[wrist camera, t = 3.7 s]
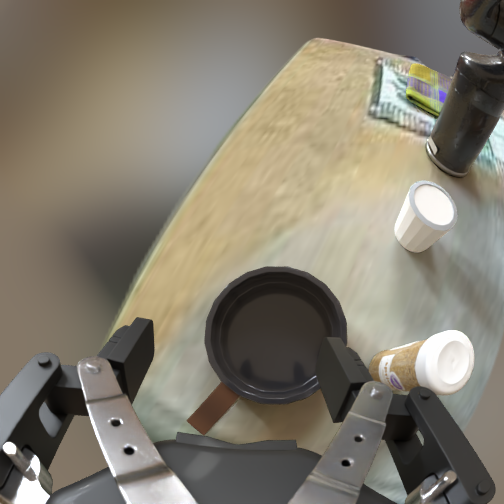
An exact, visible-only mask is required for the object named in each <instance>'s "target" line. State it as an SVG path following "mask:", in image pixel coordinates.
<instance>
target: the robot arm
mask: <svg viewBox="0 0 504 504" xmlns="http://www.w3.org/2000/svg"><path fill="white" fill-rule="evenodd" d="M460 17H461V21H462V23H463V24H464V26H465V27H466V28H467V29H468V30H469V31H471V32H472V33H473V34H475V35H476V36H478V37H479V38H481V39H483V40H484V41H486V42H488V43H489V44H491V45H492V46H494V47H496V48H497V49H499V50H500V51H499V52H498V53H497V54H496V55H480V54H475V53H470V52H463V53H461V55H460V56H459V59H458V63H457V66H456V69H455V72H454V75H453V78H452V81H451V84H450V87H449V90H448V92H447V95H446V98H445V100H444V103H443V106H442V108H441V111H440V113H439V116H438V118H437V121H436V123H435V126H434V128H433V130H432V132H431V135H430V137H429V138H428V140H427V142H426V151H427V153H428V155H429V157H430V158H431V160H432V161H433V162H434V163H435V164H436V165H437V166H438V167H439V168H440V169H441V170H443V171H444V172H446V173H448V174H450V175H452V176H455V177H464V176H466V175H467V173H468V172H469V170H470V168H471V166H472V165H473V163H474V162H475V160H476V159H477V157H478V155H479V154H480V152H481V150H482V149H483V147H484V145H485V144H486V142H487V140H488V139H489V137H490V135H491V133H492V132H493V130H494V128H495V126H496V124H497V122H498V120H499V118H500V117H501V114H502V112H503V110H504V0H461V2H460ZM153 357H154V329H153V321H152V320H150V319H144V318H138V317H137V318H136V319H135V320H134V321H133V323H132V324H131V325H130V326H126V325H125V326H123V327H121V328H120V329H118V330H117V331H116V332H115V333H114V334H113V337H111V338H110V340H109V342H107V343H106V345H105V346H104V347H103V348H102V350H101V351H100V352H99V354H98V355H97V356H93V357H87V358H84V359H83V360H81V361H80V362H79V363H78V365H77V366H69V365H61V364H60V360H59V358H58V357H57V356H56V355H55V354H52V353H48V352H45V353H39V354H37V355H35V356H34V357H33V358H32V359H31V360H30V361H29V362H28V363H27V364H26V365H25V366H24V368H23V369H22V370H21V371H20V372H19V373H18V374H17V376H16V377H15V378H14V379H13V380H12V381H11V382H10V384H9V385H8V386H7V387H6V389H5V390H4V391H3V392H2V393H1V395H0V503H1V504H397V503H395V502H393V501H391V500H390V499H388V498H386V497H384V496H383V495H381V494H379V493H378V492H376V491H374V490H373V489H371V488H369V487H368V486H366V485H364V484H363V482H364V480H365V478H366V476H367V474H368V471H369V469H370V467H371V465H372V462H373V460H374V457H375V455H376V452H377V450H378V447H379V445H380V442H381V439H382V440H385V441H386V443H387V446H388V448H389V450H390V453H391V455H392V458H393V460H394V463H395V465H396V467H397V470H398V472H399V475H400V477H401V480H402V482H403V485H404V488H405V490H406V493H407V495H408V496H407V498H406V500H405V504H487V503H488V502H490V501H491V500H492V498H493V496H494V494H495V484H494V482H493V480H492V478H491V477H490V475H489V473H488V472H487V470H486V468H485V467H484V465H483V463H482V462H481V460H480V459H479V457H478V455H477V454H476V452H475V451H474V449H473V448H472V446H471V445H470V443H469V441H468V440H467V439H466V437H465V436H464V434H463V432H462V431H461V430H460V428H459V427H458V425H457V424H456V422H455V421H454V419H453V418H452V417H451V415H450V414H449V412H448V411H447V409H446V408H445V407H444V405H443V404H442V402H441V401H440V400H439V398H438V397H437V396H436V394H435V393H434V392H433V391H432V390H430V389H429V388H426V387H422V386H416V387H413V388H412V389H411V390H410V392H409V394H408V395H398V394H393V392H392V390H391V388H390V387H389V386H387V385H386V384H384V383H381V382H377V381H374V379H373V378H372V376H371V374H370V373H369V371H368V370H367V368H366V367H365V366H364V363H363V362H362V361H361V359H360V357H359V356H358V354H357V353H356V352H355V351H353V350H352V349H351V348H349V347H346V346H345V344H344V343H343V341H342V339H341V338H336V337H325V338H324V339H323V342H322V345H321V349H320V352H319V356H318V359H317V362H316V369H315V371H316V377H317V379H318V382H319V385H320V388H321V390H322V393H323V396H324V398H325V401H326V404H327V407H328V409H329V412H330V415H331V418H332V420H333V423H337V422H343V423H342V425H341V426H340V428H339V430H338V432H337V433H336V435H335V437H334V438H333V440H332V442H331V443H330V445H329V446H328V448H327V450H326V451H325V453H324V454H323V456H321V455H319V454H317V453H315V452H312V451H309V450H306V449H302V448H297V443H296V440H266V441H260V442H254V443H248V444H240V445H236V444H232V443H228V442H225V441H221V440H218V439H214V438H211V437H208V436H201V435H194V434H187V433H181V432H177V437H176V440H164V441H159V442H156V443H152V441H151V439H150V438H149V436H148V434H147V433H146V431H145V429H144V427H143V425H142V424H141V422H140V420H139V418H138V416H137V414H136V412H135V411H134V409H133V407H132V403H133V401H134V399H135V397H136V395H137V392H138V390H139V388H140V386H141V384H142V382H143V379H144V377H145V375H146V373H147V371H148V369H149V367H150V364H151V362H152V360H153ZM44 401H45V402H44ZM43 402H44V403H43ZM42 404H43V405H42ZM41 405H42V406H41ZM40 407H41V408H40ZM74 415H81V416H90V419H91V422H92V425H93V428H94V431H95V434H96V437H97V439H98V442H99V445H100V447H101V450H102V452H103V454H104V457H105V459H106V462H107V464H108V466H109V467H107V468H105V469H103V470H101V471H99V472H97V473H95V474H93V475H91V476H89V477H86V478H84V479H82V480H80V481H78V482H75V483H73V484H71V485H69V486H66V487H64V488H61V489H59V490H57V491H55V492H54V493H53V494H52V485H53V481H52V477H51V475H50V473H49V472H48V469H49V466H50V464H51V462H52V460H53V458H54V456H55V454H56V451H57V449H58V447H59V445H60V443H61V441H62V439H63V437H64V435H65V433H66V431H67V429H68V427H69V425H70V423H71V421H72V419H73V417H74ZM418 430H420V432H421V434H422V436H423V438H424V445H423V446H422V444H421V442H420V440H419V438H418V436H417V434H416V433H417V431H418Z"/></svg>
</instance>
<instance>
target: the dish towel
mask: <svg viewBox="0 0 504 504" xmlns="http://www.w3.org/2000/svg"><path fill="white" fill-rule="evenodd" d="M451 81H452V79H451V78H450V77H448V76H445V75H443V74H441V73H438V72H436V71H433V70H431V69H429V68H427V67H425V66H423V65H420V64H412V65H411V67H410V70H409V75H408V82H407V88H406V97H407V99H408V100H409V101H411V102H412V103H414V104H415V105H417V106H419V107H421V108H422V109H424V110H426V111H428V112H430V113H432V114H434V115H436V116H437V117H438V116H439V113H440V111H441V108H442V106H443V103H444V100H445V98H446V95H447V92H448V90H449V87H450V84H451Z"/></svg>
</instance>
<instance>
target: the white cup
mask: <svg viewBox="0 0 504 504" xmlns="http://www.w3.org/2000/svg"><path fill="white" fill-rule="evenodd" d="M457 215H458V213H457V209H456V205H455V203H454V201H453V199H452V198H451V196H450V195H449V194H448V193H447V192H446V191H445V190H444V189H443V188H442V187H441V186H439V185H437V184H435V183H434V182H430V181H425V180H423V181H418V182H415V183H414V184H413V185H412V186H411V187H410V190H409V192H408V195H407V197H406V200H405V202H404V205H403V207H402V209H401V212H400V214H399V217H398V219H397V221H396V224H395V235H396V237H397V239H398V242H399V243H400V244H401V245H402V246H403V247H404V248H405V249H407V250H409V251H411V252H416V253H419V252H422V251H425V250H426V249H427V248H429V247H430V246H431V245H432V244H434V243H435V242H436V241H437V240H439V239H440V238H441V237H442V236H443V235H445V234H446V233H447V232H448V231H449V230H451V229H452V228H453V226H454V225H455V224H456V222H457Z"/></svg>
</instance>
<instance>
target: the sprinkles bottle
mask: <svg viewBox="0 0 504 504" xmlns="http://www.w3.org/2000/svg"><path fill="white" fill-rule="evenodd" d="M473 367H474V350H473V347H472V344H471V342H470V340H469V339H468V337H467V336H466V335H465V334H463V333H462V332H460V331H456V330H449V331H445V332H441V333H438V334H436V335H433V336H431V337H430V338H429V339H427V340H424V341H417V342H414V343H410V344H407V345H403V346H400V347H396V348H393V349H391V350H385V351H381V352H380V353H378V354H377V355H375V356H374V358H373V359H372V361H371V363H370V366H369V373H370V374H371V376H372V378H373V379H374V381H377V382H381V383H384V384H386V385H387V386H389V387H390V388H391V390H396V391H410V390H411V389H412V388H413V387H416V386H422V387H426V388H429V389H430V390H432V391H433V392H434V393H435V394H436V395H451V394H454V393H456V392H458V391H459V390H460V389H461V388H463V387H464V385H465V384H466V383H467V381H468V380H469V378H470V376H471V374H472V371H473Z"/></svg>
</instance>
